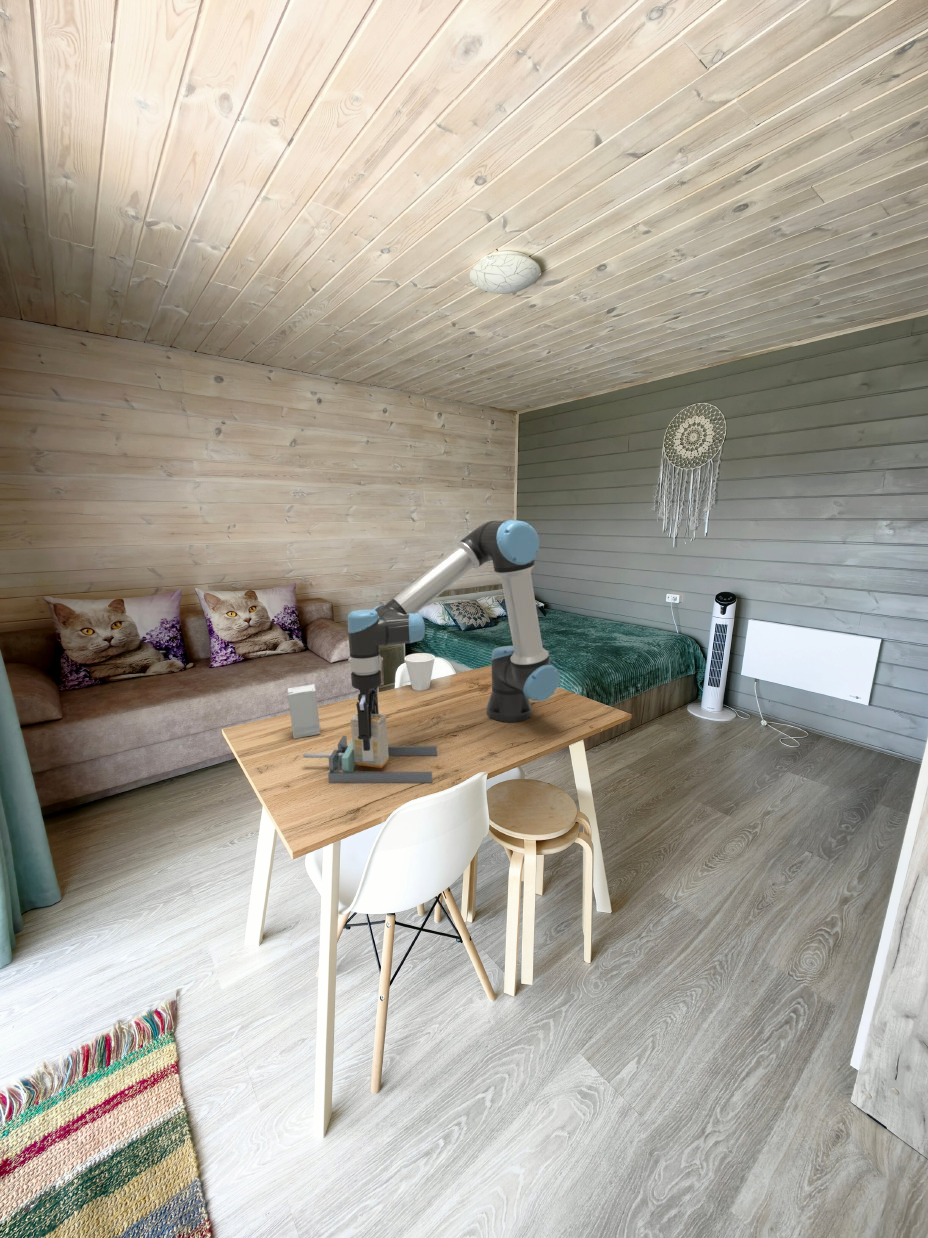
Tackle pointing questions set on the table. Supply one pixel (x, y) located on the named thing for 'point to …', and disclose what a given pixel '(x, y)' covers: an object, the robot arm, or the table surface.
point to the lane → (380, 776)
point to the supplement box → (378, 741)
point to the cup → (420, 670)
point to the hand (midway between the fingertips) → (371, 754)
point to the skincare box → (303, 711)
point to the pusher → (346, 757)
